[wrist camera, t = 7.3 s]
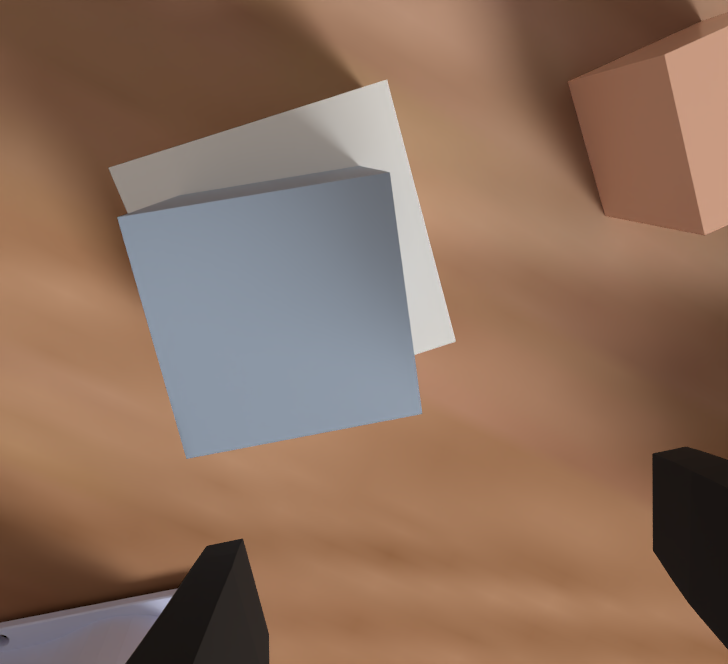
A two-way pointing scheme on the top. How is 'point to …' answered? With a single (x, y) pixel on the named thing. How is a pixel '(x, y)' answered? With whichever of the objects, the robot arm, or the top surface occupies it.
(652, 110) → the terracotta block
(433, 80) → the top surface
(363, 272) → the slate cube
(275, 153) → the white block
